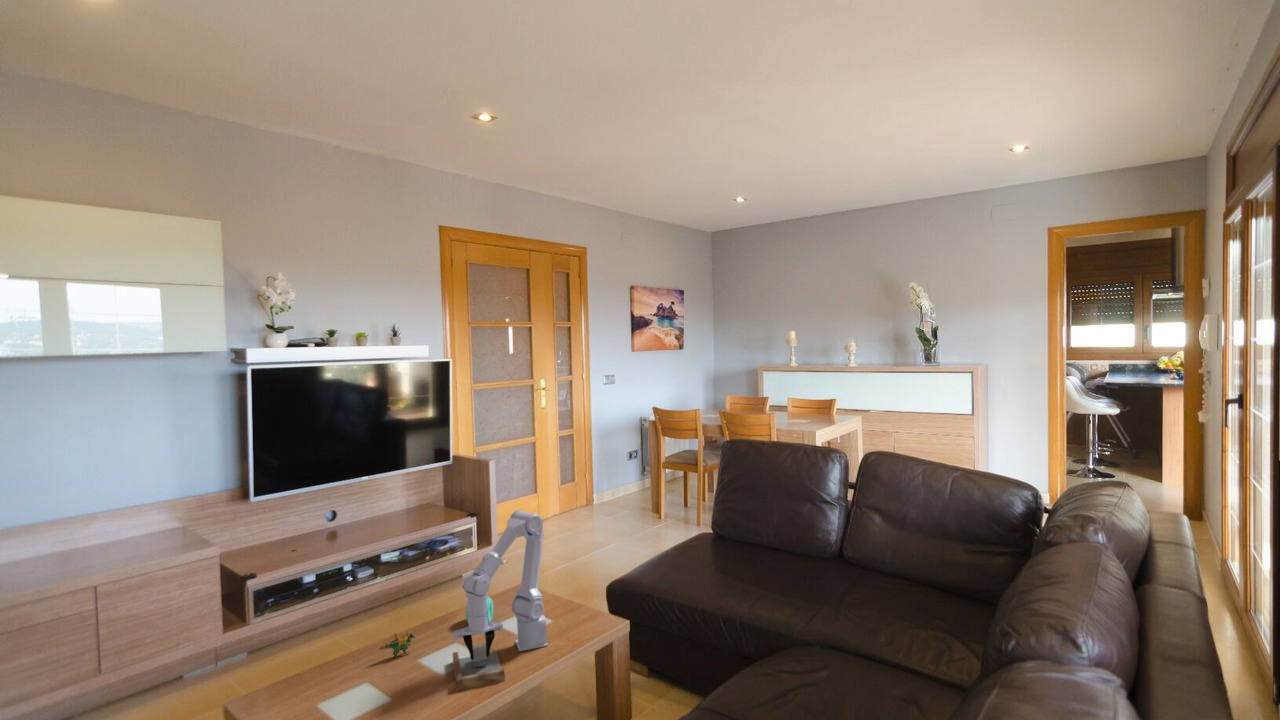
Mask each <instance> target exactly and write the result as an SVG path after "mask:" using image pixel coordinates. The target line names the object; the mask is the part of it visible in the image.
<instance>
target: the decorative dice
mask: <svg viewBox="0 0 1280 720" xmlns="http://www.w3.org/2000/svg"><path fill="white" fill-rule="evenodd" d="M486 597H487V618H488V623H492V620H493V616H494V601H493V599H492V598H491V597H490V596H487V595H486ZM465 619H466V622H467V624H469V622H468V602H467V603H466V608H465Z"/></svg>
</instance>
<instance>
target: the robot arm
mask: <svg viewBox="0 0 1280 720" xmlns="http://www.w3.org/2000/svg"><path fill="white" fill-rule="evenodd" d="M506 523H507V524H506V527H505V529H504V531H503V533H502V535H501V536H500V538H499V540H498V541H497V543H496V544H495V547H494V548H493V549H492V551H490V552H487V553H485V554H484V555H483V556H482V559H481V561H480V562H479V564H478V565H477V566H476V568H475V569H474V571H473V572H472V573H470V574H468V575H467V576H466V577H465V579H464V580H463V584H462V586H461V587H462V589H463V590H464V592H465V593H466V596H465V597H466V598H467V599H466V601H467V603H468V622H469V623H468V622H467V623H468V626H466V627H464V628H460V629H456V630H453V639H454V640H459V639H460V638H462V639H463V642H464V644H465V646H466V647H467V650H468V652H469V657H471V660H474V657H473V644H474V643H473V642H474V641H473V637H472V636H475V635H476V636H477V635H481V634H484V637H485V638H484V639H485V644H486V655H487V657H489V653H491V652H490V650H491V647H492V644H493V642H494V640H495V637H496V634H495V632H496V631H498V632H500V631H503V630H504V629H503V627H504V625H503V622H502V621H498V622H490V623H488V618H487V597H486V596H487V592H488V591H490V587H491V582H492V580H493V577H494V575H495V574H496V573H497V570H498V569H499V568H500V566H501V565H502V562H503V561H502V557H503V555H504V554H505V553H506V552H507V550H508V549H509V548H510V547H511V546H512V544H513V543H514V542H515V540H516V539H518V538H521V537H524V539H526V541H525V542H526V543H525V550H524V558H523V565H522V566H523V567H522V568H523V569H522V575H521V584H520V588H518V589H517V590H516V591H515V593H514V598H513V599H512V602H511V611H512V613H513V614H515V618H516V627H517V629H516V630H517V639H515V640H514V641H515V644H516V646H517V650H518V651H519V652H523V651H529V650H532V649H538V648H543V647H547V646H548V629H547V620H546V617H545V615H544V614H543V612H544V603H543V595H542V593H541V592H540V590H539V589H538V587H539V586H538V585H539V579H540V568H541V561H542V552H543V543H544V530H543V527H544V519H543V518H542V517H541V515H539V514H538V513H535V512H534V513H533V512H528V511H527V512H526V511H522V510H519V509H517V510H515V511H513V512H512V513H511V515H510V517H509V519H507V521H506Z"/></svg>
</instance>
